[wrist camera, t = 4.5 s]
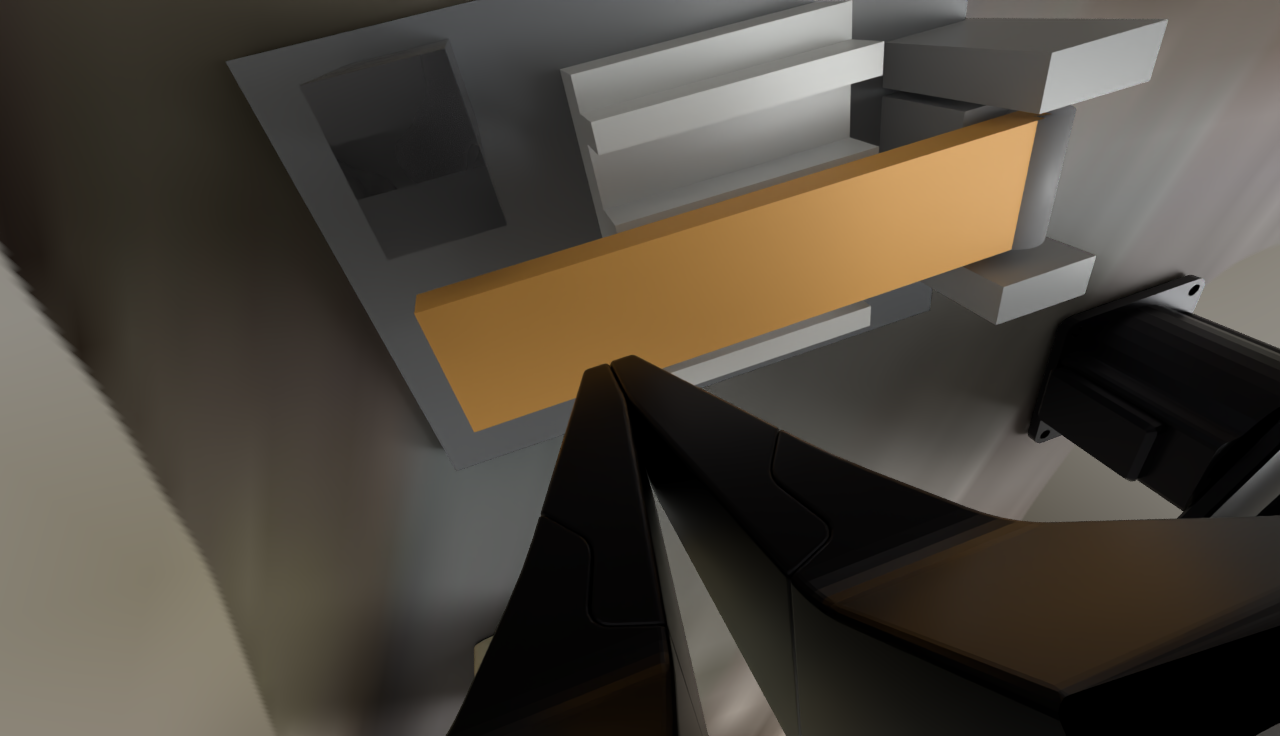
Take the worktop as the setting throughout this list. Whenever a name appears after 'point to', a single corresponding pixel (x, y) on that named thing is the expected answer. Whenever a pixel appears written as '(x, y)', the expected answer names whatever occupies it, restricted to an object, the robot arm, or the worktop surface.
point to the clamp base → (687, 144)
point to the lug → (408, 147)
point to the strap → (745, 264)
